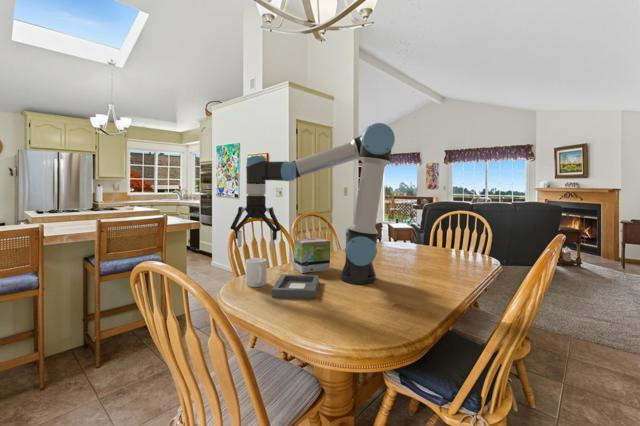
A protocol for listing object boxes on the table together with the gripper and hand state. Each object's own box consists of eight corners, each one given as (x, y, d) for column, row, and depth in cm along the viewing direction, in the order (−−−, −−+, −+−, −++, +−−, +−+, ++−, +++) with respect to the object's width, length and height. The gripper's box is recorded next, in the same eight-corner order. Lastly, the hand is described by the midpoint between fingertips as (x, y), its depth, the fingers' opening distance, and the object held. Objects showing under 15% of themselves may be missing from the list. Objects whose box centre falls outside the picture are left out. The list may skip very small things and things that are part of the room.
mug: (271, 288, 130) (271, 263, 129) (250, 291, 126) (250, 265, 125) (263, 280, 141) (263, 257, 140) (244, 282, 137) (243, 258, 136)
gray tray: (318, 282, 139) (319, 275, 139) (314, 298, 119) (314, 290, 119) (281, 281, 140) (281, 274, 140) (271, 297, 120) (271, 289, 120)
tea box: (302, 274, 151) (302, 242, 150) (293, 268, 160) (293, 239, 159) (330, 270, 158) (330, 240, 157) (320, 265, 167) (321, 237, 166)
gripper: (288, 195, 133) (287, 246, 135) (228, 194, 135) (229, 244, 137) (285, 196, 126) (284, 250, 128) (222, 194, 127) (222, 248, 129)
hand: (255, 247), depth 132 cm, fingers open, 13 cm apart
